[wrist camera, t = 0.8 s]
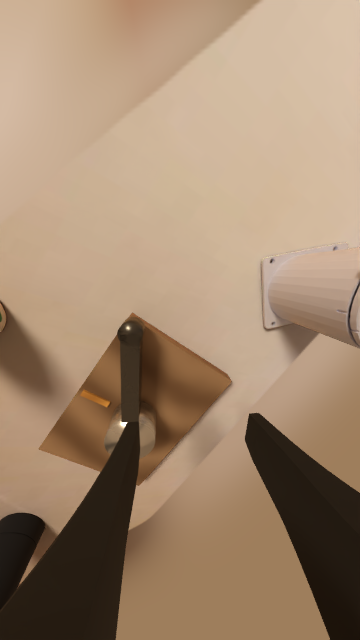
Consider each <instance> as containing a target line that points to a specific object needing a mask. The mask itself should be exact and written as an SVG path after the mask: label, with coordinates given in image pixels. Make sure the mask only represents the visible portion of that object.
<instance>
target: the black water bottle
mask: <svg viewBox="0 0 360 640" xmlns="http://www.w3.org/2000/svg"><path fill="white" fill-rule="evenodd" d="M44 529H45V527H44V523H43V521H42V520H41V519H40V518H38V517H37V516H34V515H31V514H26V513H16V514H11V515H8V516H6V517H4V518H3V519H2V520H1V521H0V610H1V609H2V607H3V606H4V605H5V604H6V602H7V601H8V600H9V599H10V597H11V596H12V595H13V594H14V592H15V591H16V589H17V587H18V585H19V583H20V581H21V579H22V576H23V574H24V572H25V570H26V568H27V566H28V563H29V561H30V559H31V557H32V555H33V553H34V550H35V548H36V546H37V544H38V542H39V540H40V537H41V535H42V533H43V531H44Z"/></svg>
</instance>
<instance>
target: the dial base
mask: <svg viewBox="0 0 360 640" xmlns="http://www.w3.org/2000/svg"><path fill="white" fill-rule="evenodd" d="M130 317H137V318H139V319H141V318H140V317H138V316H137V315H135V314H134V313H132V314H131V315H130ZM130 317H129V318H130ZM141 320H142V321H143V322H144V325H145V330H144V334H143V341H142V387H141V400H142V401H145V402H147V403H149V404H150V405H151V406H152V407H153V408H154V410H155V412H156V434H155V445H154V447H153V449H152V451H151V452H150V453H149V454H148V455H146V456H144V457H143V458H140V459H139V469H138V476H137V482H136V485H138V486H139V485H140V484H141V483H142V482H143V481H144V480H145V479H146V478H147V476H148V475H149V474H150V473H151V472H152V471H153V470H154V469H155V467H156V466H157V465H158V464H159V463H160V462H161V461H162V460H163V458H164V457H165V456H166V455H167V454H168V453H169V452H170V451H171V449H172V448H173V447H174V446H175V445H176V444H177V443H178V442H179V440H180V439H181V438H182V437H183V436H184V435H185V434H186V433H187V431H188V430H189V429H190V428H191V427H192V426H193V425H194V424H195V422H196V421H197V420H198V419H199V418H200V417H201V416H202V415H203V413H204V412H205V411H206V410H207V409H208V408H209V407H210V406H211V404H212V403H213V402H214V401H215V400H216V399H217V398H218V397H219V395H220V394H221V393H222V392H223V391H224V390H225V389H226V388H227V386H228V385H229V384H230V383H231V382H232V381H231V379H230V378H229V376H228V375H227V374H226V373H225V372H223V371H222V370H220V369H218V368H217V367H215V366H214V365H212V364H211V363H209V362H208V361H206V360H205V359H203V358H201V357H200V356H198V355H197V354H195V353H194V352H192V351H191V350H189V349H188V348H186V347H185V346H183V345H181V344H180V343H178V342H177V341H175V340H174V339H172V338H171V337H169V336H168V335H166V334H164V333H163V332H161V331H160V330H158V329H157V328H155V327H154V326H152V325H151V324H149V323H147V322H146V321H144V320H143V319H141ZM120 404H121V368H120V341H119V339H118V336H117V335H116V337H115V338H114V340H113V341H112V343H111V344H110V346H109V347H108V349H107V350H106V351H105V353H104V354H103V356H102V357H101V359H100V360H99V362H98V363H97V365H96V366H95V367H94V369H93V370H92V372H91V373H90V375H89V376H88V378H87V379H86V381H85V382H84V383H83V385H82V386H81V388H80V389H79V391H78V392H77V394H76V395H75V397H74V398H73V399H72V401H71V402H70V404H69V405H68V407H67V408H66V410H65V411H64V413H63V414H62V415H61V417H60V418H59V420H58V421H57V423H56V424H55V426H54V427H53V429H52V430H51V431H50V433H49V434H48V436H47V437H46V439H45V440H44V442H43V443H42V445H41V446H40V447H39V450H42V451H45V452H48V453H50V454H53V455H56V456H59V457H61V458H64V459H67V460H70V461H72V462H75V463H78V464H81V465H83V466H86V467H89V468H92V469H94V470H97V471H100V472H101V471H102V469H103V468H104V466H105V464H106V462H107V461H108V459H109V457H110V454H109V453H108V452H107V451H106V449H105V446H104V439H105V436H106V433H107V430H108V427H109V424H110V421H111V418H112V416H113V413H114V411H115V409H116V408H117V407H118V406H119V405H120Z"/></svg>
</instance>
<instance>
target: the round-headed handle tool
mask: <svg viewBox="0 0 360 640" xmlns="http://www.w3.org/2000/svg"><path fill="white" fill-rule="evenodd" d="M144 330H145V325H144V322H143V321H142V320H141V319H139V318H137V317H130V318H128V319H126V320H125V322H124V323H123V324H122V325H121V327H120V328H119V330H118V333H117V336H118V339H119V341H120V368H121V404H120V405H119V406H118V407H117V408H116V409H115V411H114V413H113V416H112V418H111V421H110V424H109V427H108V430H107V433H106V436H105V439H104V446H105V449H106V451H107V452H108V453H109V454H110V455H111V453H112V452H113V450H114V448H115V446H116V444H117V442H118V440H119V438H120V436H121V434H122V432H123V430H124V428H125V425H126V423H128V422H136V421H139V431H140V458H143V457H144V456H146V455H148V454H149V453H150V452H151V451H152V449H153V447H154V445H155V434H156V412H155V410H154V408H153V407H152V406H151V405H150V404H149V403H147V402H145V401H142V400H141V387H142V341H143V334H144ZM140 458H139V459H140Z"/></svg>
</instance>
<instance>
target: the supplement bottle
mask: <svg viewBox="0 0 360 640" xmlns="http://www.w3.org/2000/svg"><path fill="white" fill-rule="evenodd" d="M5 324H6V314H5V311H4V309H3V307H2V305H1V303H0V332H1V331H2V330H3V328H4V327H5Z"/></svg>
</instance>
